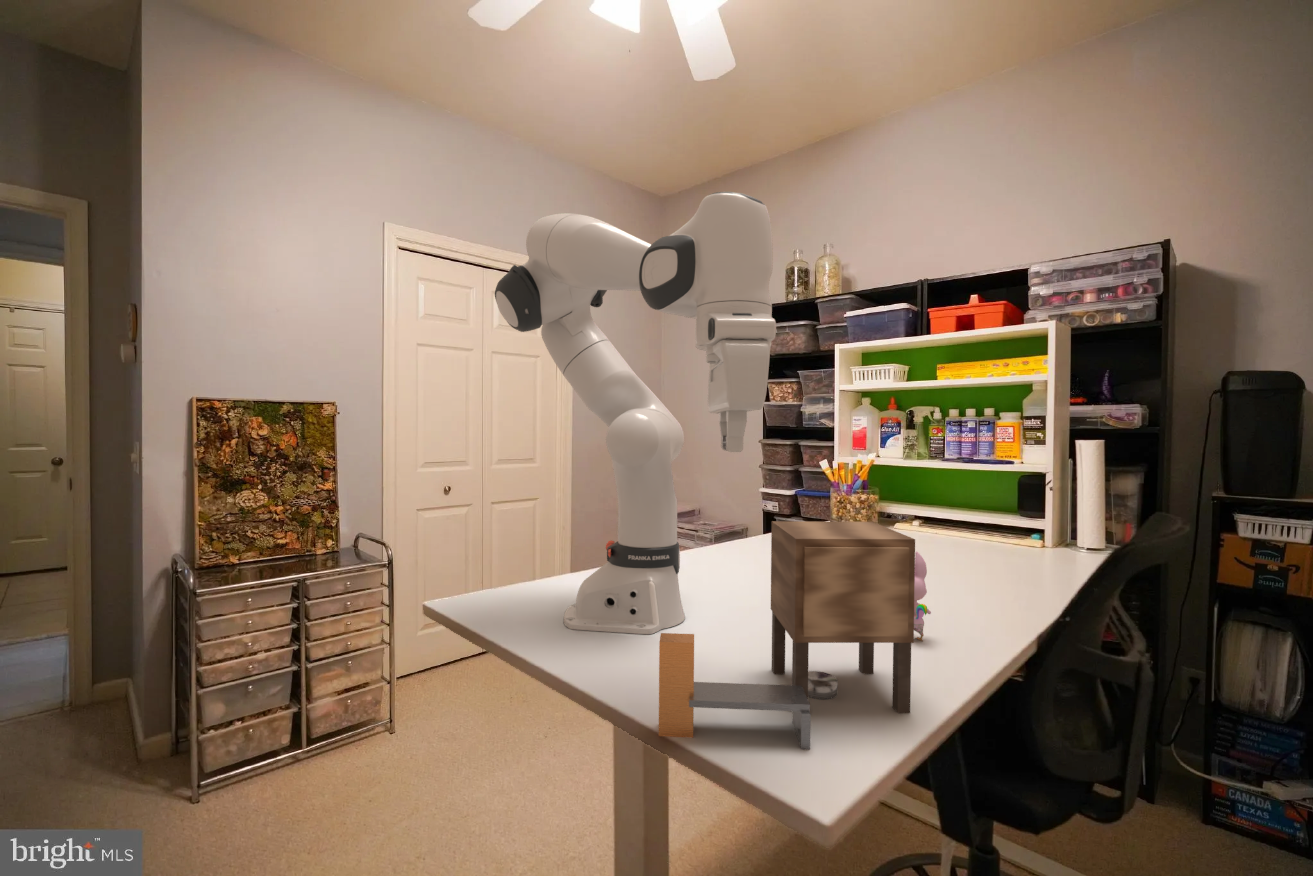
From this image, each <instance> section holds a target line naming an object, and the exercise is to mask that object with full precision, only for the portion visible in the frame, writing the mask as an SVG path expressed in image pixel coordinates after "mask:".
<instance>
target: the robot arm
mask: <svg viewBox="0 0 1313 876" xmlns="http://www.w3.org/2000/svg"><path fill="white" fill-rule="evenodd" d="M525 245H526V247H525V248H526V253H527V255H528V256H527V257H528V260H527V261H526V262H525V263H523V264H521V265H516V264H513V265H512V267H510V270H509V271H508V272H507V273H506V274H504V276H503V277H501V278H500V280H499V281H498V282H497V284H496V287H495V290H494V297H495V298H494V299H495V302H496V305H497V308H498V311H499V313H500V314H501V317H502V318H503V319H504V320H505V321H506V323H507V324H508V325H509V326H510V327H511V328H512V329H515V330H516V331H518V332H521V333H522V332H523V333H525V332H526V333H527V332H531V331H535V330H537V329H540V328H541V331H540V332H541V333H540V334H541V338H542V341H543V343H544V345H545V348H546V349H547V351H548V353H549V355H550V357H551V359H552V360H553V362H554V364H555V365H556V367H557V368H558V369H559V371H560V372H561V374H562V375H563V376H564V378H565V379H566V381H567V382H568V383H569V385H570V386H571V388H572V389H573V390H574V392H576V394H577V395H578V397H579V398H580V399H581V400H582V402H583V404H584V405H585V406H586V407H587V409H589V411H591V412H592V413H593V414H595V415H596V416H597V417H598V418H599V419H600V420H601V421H602V422H603V423H604V424H605V425H606V426H607V427H608V429H607V432H606V437H605V438H606V439H605V444H606V449H607V451H608V453H609V455H610V457H611V464H612V471H613V477H614V483H615V487H616V488H615V490H616V494H617V495H616V496H617V541H615V540H613V539H612V540H611V539H610V540H608V541H607V543H606V544H605V549H606V561H607V562H606V563H604V564H603V565H602V566H600V568H598V569H597V570H595V571H594V572H593V573H591V574H590V575H589V576H588V577H587V578H585V579H584V580H583V581H582V583H581V584H580V587H579V589H578V590H577V596H576V599H575V603H574V604H571V605H570V606H569V607H568V608H567V609H566V610H565V612H564V614H563V615H564V616H563V624H564V626H565V627H566V628H568V629H569V630H575V631H576V630H578V631H591V632H607V633H618V634H619V633H622V634H635V635H636V634H639V635H652V634H653V635H654V634H655V633H657V632H659V631H661V630H664V629H668V628H672V627H675V626H678V625H680V624H682V623H683V622H684V621H685V620H686V615H685V611H684V608H683V607H684V606H683V603H682V598H681V593H680V591H681V590H680V584H679V573H680V572H679V571H680V567H681V565H680V564H681V549H680V544H679V542H678V498H677V495H676V490H675V485H674V484H675V483H674V476H673V468H672V467H673V466H672V463H673V461H674V460H676V458H678V457H679V455H680V454H681V451H682V450H683V447H684V443H685V434H684V430H683V427H682V425H681V423H680V422H679V421H678V419H677V418H676V417H675V416H674V415H673V414H672V413H671V411H670V410H669V409H668V408H667V406H665V404H664V403H663V402H662V401H661V400H660V399H659V397H658V396H656V394H655V393H654V392H653V391H652V390H651V389H650V387H648V386H647V384H646V383H644V381H643V380H642V379H641V378H640V377H639V376H638V375H637V374H636V373H635V371H634V370H633V368H631V366H630V365H629V363H628V362H627V361H626V360H625V358H624V357H623V356H622V355H621V353H620V352H619V351H618V350H617V349H616V346H614V345H613V343H612V341H610V339H609V338H608V337H607V335H606V334H605V333H604V332H603V330H602V329H600V327H599V326H598V325H597V323H596V322H595V321H594V319H593V318H592V317H593V316H592V313H591V307H592V308H593V307H594V308H600V307H601V306H602V305H603V302H604V301H603V300H604V299H603V298H604V296H605V295H606V293H607V291H633V292H640V293H641V296H642V298H643V299H644V301H645V303H646V305H648V307H649V308H651V309H652V310H656V311H658V312H661V313H664V314H668V315H674V316H679V317H684V318H690V319H695V348H696V349H697V350H699V351H704V352H705V355H706V356H705V362H706V363H708V364H709V365H708V366H709V368H708V386H707V409H708V412H709V413H710V414H718V423H719V430H720V448H721V450H722V451H725V452H729V453H741V452H743V450H744V436H745V432H746V426H747V422H748V421H747V418H748V417H747V415H748V414H747V413H748V412H755V411H760V410H762V409H763V407H764V404H765V400H766V396H767V388H768V381H769V369H770V368H769V367H770V355H771V347H772V341H774V340H775V338H776V334H777V329H776V328H777V322H776V319H775V318H773V315H772V314H773V313H772V312H773V304H772V299H771V296H770V288H769V287H770V279H771V278H772V277H771V276H772V273H773V263H774V262H773V260H774V252H773V249H774V248H773V245H774V244H773V229H772V222H771V216H770V213H769V210H768V207H767V205H766V204H765V203H764V202H763V201H762V200H759V199H758V198H756V197H753V196H751V195H748V194H745V193H743V192H734V191H717V192H713V193H711V194H708V195H706V196H704V198H703V199H702V200H701V201H700V203H699V206H698V208H697V209H696V212H695V213H694V215H693V216H692V217H691V218H690V219H689V220H688V221H687V222H685V224H683V225H682V226H681V227H679V228H678V229H677V230H676V231H674V232H673V233H671V234H669V235H668V236H667V235H666V236H662V237H660V238H658V239H657V240H655V241H654V242H652V244H651V243H649V242H647V241H645V240H643V239H641V238H639V237H637V236H634V235H633V234H630V233H628V232H626V231H624V230H622V229H620V228H619V227H616V226H615V225H612V224H610V223H608V222H606V221H603V220H601V219H598V218H596V217H592V216H590V215H586V214H579V213H569V212H568V213H567V212H566V213H555V214H550V215H545V216H543V217H541V218H539V219H537V220H536V221H535V222H534V223H533V224H532V225H531V227H530V228H529V230H528V232H527V235H526V244H525Z"/></svg>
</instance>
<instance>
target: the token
mask: <svg viewBox="0 0 1313 876" xmlns="http://www.w3.org/2000/svg"><path fill="white" fill-rule="evenodd" d="M838 680H839V679H837V677H836V676H834V675H832V674H831V673H827V672H823V671H819V670H817V671H816V670H815V671H814V670H813V671H812V670H811V671H810V670H808V698H810V699H814V700H823V701H824V700H833V699H835V698H836V697H837V696H838Z"/></svg>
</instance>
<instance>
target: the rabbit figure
mask: <svg viewBox="0 0 1313 876" xmlns="http://www.w3.org/2000/svg"><path fill="white" fill-rule="evenodd" d="M927 572H928V569H927V564H926V561H925V559H924V557H923V556H922V555H921V553H920V552H918V551H915V586H914V632H916V633H918V634H919V635H920V637H919V636H917V637H916V638H914V639H915V640H916V639H917V640H918V641H921V642H923V637H924V636H925V635H924V626H925V621H924V617H925V616H926V615H931V614H932V612H931V610H929V608H928V607H927V605H926V604H924V603H919V602H918V601H920V600H923V598H924V597H926V595H927V593H928V590H927V585H926V582H925V579H926V576H927Z"/></svg>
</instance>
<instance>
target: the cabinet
mask: <svg viewBox="0 0 1313 876" xmlns="http://www.w3.org/2000/svg"><path fill="white" fill-rule="evenodd" d="M770 538H771V541H770V542H771V543H770V544H771V547H770V548H771V552H770V555H771V556H770V610H771V672H772V673H773V674H774V675H785V674H786V633H787V634H788V635H789V637H790V638H791V640H792V651H791V652H792V660H791V665H792V667H791V668H792V671H791V676H792V677H791V678H792V679H791V685H796V686H802V687H803V689H804V692H805V694H806V697H807V699H808V700H809V697H808V672H809V649H810V648H809V647H810V646H809V644H811V643H812V644H813V643H814V644H817V643H818V644H819V643H820V644H822V643H823V644H824V643H825V644H827V643H828V644H829V643H830V644H831V643H833V644H845V643H846V644H849V643H850V644H851V643H852V644H853V643H854V644H855V643H857V644H858V671H860V673H861V674H862V675H874V665H875V663H874V662H875V661H874V660H875V643H876V644H881V643H883V644H889V643H891V644H892V649H893V651H892V700H891V702H892V704H891V705H892V709H893V710H894V711H895V712H896V713H897V714H911V692H912V691H911V688H912V686H911V684H912V683H911V681H912V679H911V678H912V675H911V674H912V673H911V672H912V643H914V642H915V641H914V639H915V638H914V637H915V636H914V635H915V634H914V633H915V631H914V586H915V556H916V539H915V538H913V537H911V536H908V535H905V534H903V533H900V532H898V531H896V530H893V529H891V528H889V527H886V526H884V525H882V524H879V523H877V522H874V521H794V520H793V521H789V520H787V521H784V520H783V521H779V520H777V521H773V520H772V521H771V537H770Z"/></svg>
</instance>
